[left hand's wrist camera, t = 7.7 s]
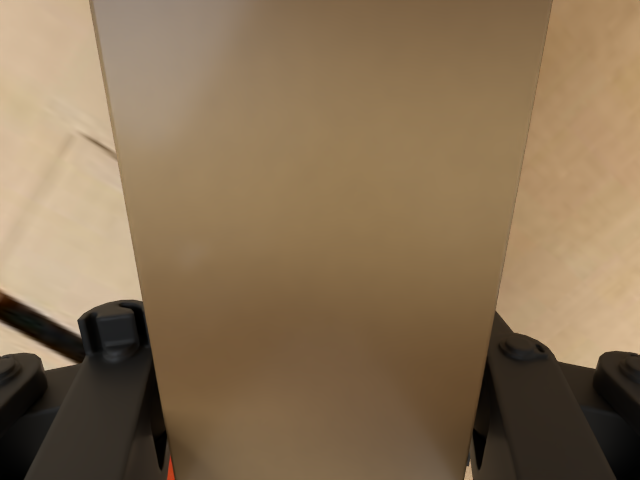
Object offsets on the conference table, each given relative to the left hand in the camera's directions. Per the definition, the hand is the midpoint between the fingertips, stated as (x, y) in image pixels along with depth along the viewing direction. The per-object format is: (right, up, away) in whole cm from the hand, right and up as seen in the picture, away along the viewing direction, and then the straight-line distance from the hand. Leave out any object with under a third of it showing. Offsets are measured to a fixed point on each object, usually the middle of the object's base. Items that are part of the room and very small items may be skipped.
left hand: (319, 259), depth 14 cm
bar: (0, +7, -2) cm, 7 cm away
